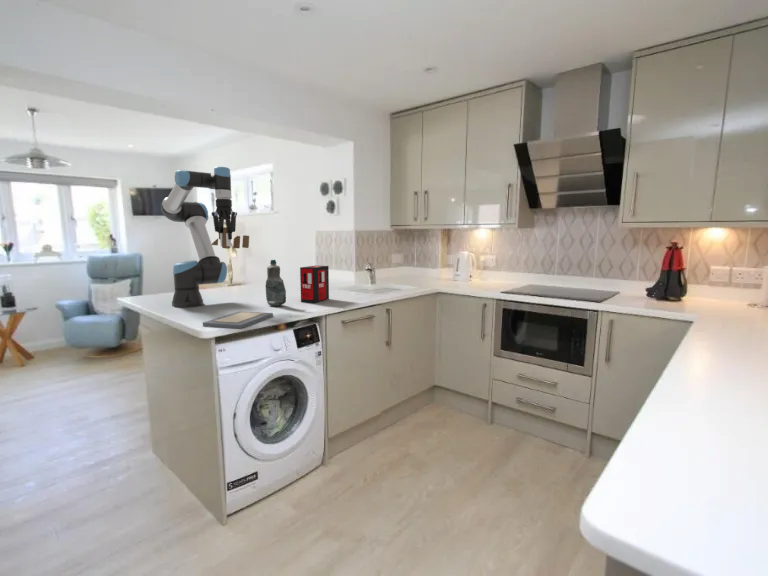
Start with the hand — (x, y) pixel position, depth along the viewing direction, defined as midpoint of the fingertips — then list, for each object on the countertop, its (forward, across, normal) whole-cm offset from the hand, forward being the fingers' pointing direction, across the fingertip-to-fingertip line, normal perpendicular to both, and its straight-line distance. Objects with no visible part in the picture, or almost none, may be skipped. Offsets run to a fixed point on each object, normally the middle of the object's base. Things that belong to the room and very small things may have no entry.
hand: (225, 245), depth 203 cm
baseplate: (+32, +23, -25) cm, 47 cm away
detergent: (+33, +19, +13) cm, 40 cm away
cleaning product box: (+33, +33, +35) cm, 58 cm away
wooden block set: (+2, 0, +3) cm, 4 cm away
